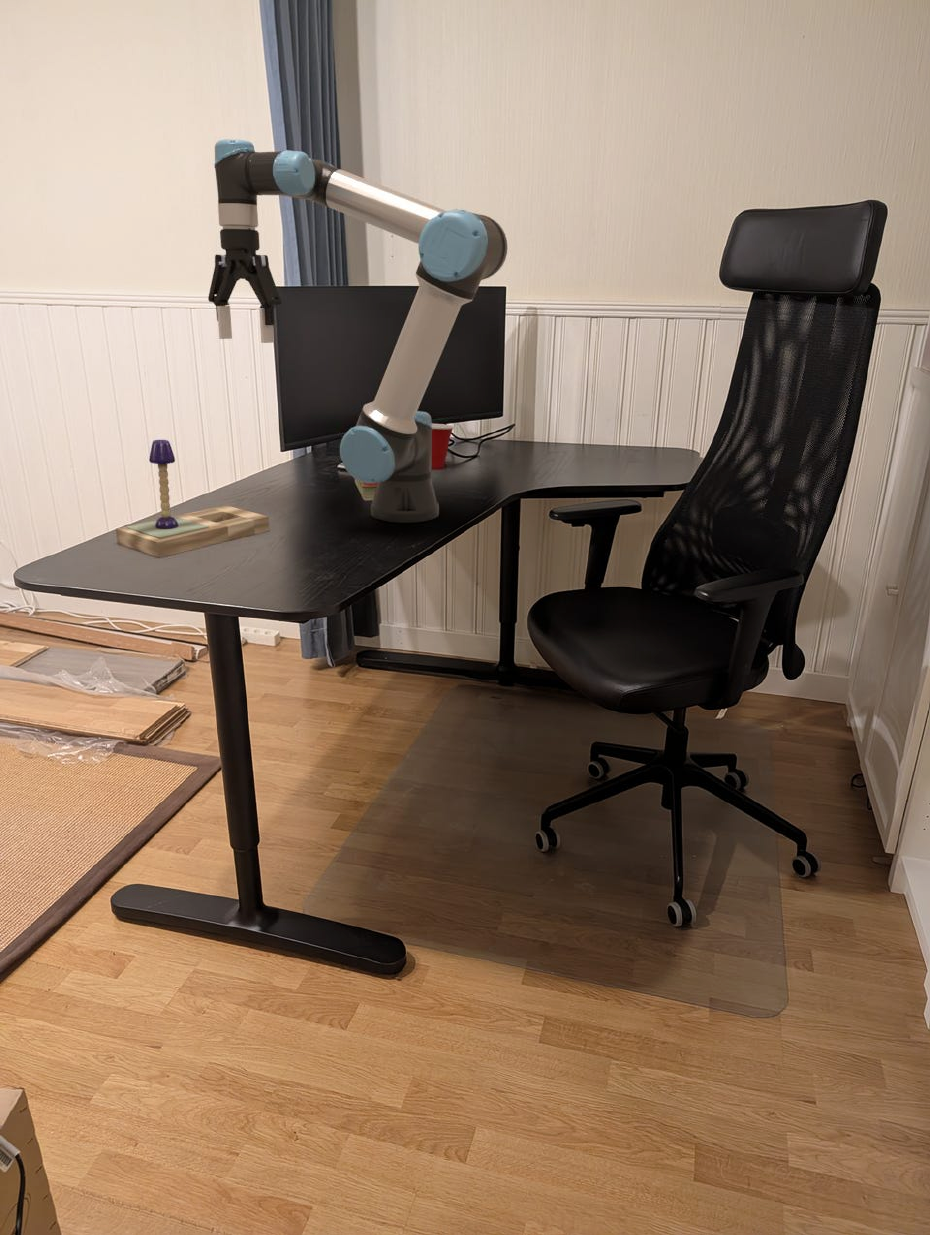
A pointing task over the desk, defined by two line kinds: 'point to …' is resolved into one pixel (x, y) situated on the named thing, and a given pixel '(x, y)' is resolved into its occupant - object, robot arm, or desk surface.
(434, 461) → the plastic cup
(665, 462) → the desk surface
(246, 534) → the light wooden flat block
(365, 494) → the hardcover book
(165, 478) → the toy lamp
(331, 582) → the desk surface
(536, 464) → the desk surface
